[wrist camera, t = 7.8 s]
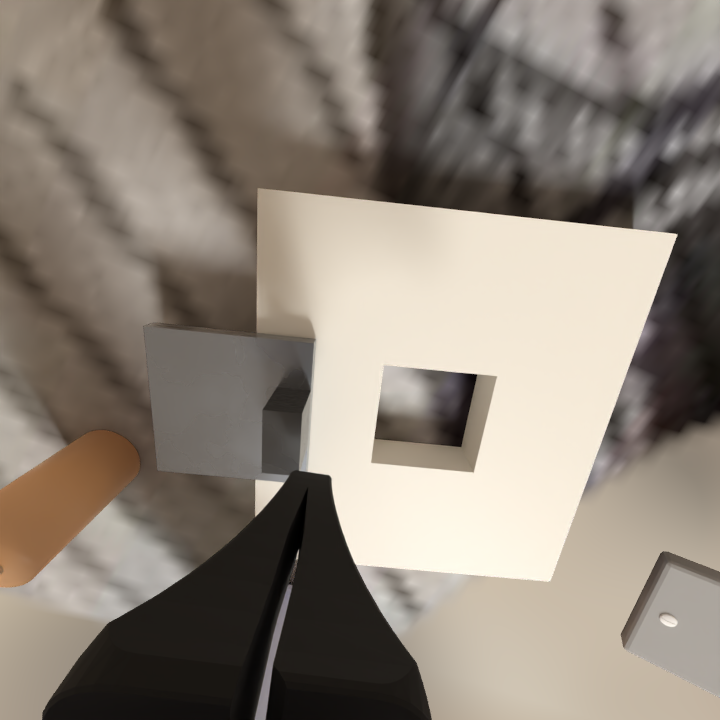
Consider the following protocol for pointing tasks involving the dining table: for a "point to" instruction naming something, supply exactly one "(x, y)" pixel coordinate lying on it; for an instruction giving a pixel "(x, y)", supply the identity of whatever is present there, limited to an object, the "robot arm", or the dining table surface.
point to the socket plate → (456, 367)
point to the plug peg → (60, 501)
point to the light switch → (679, 621)
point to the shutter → (230, 401)
